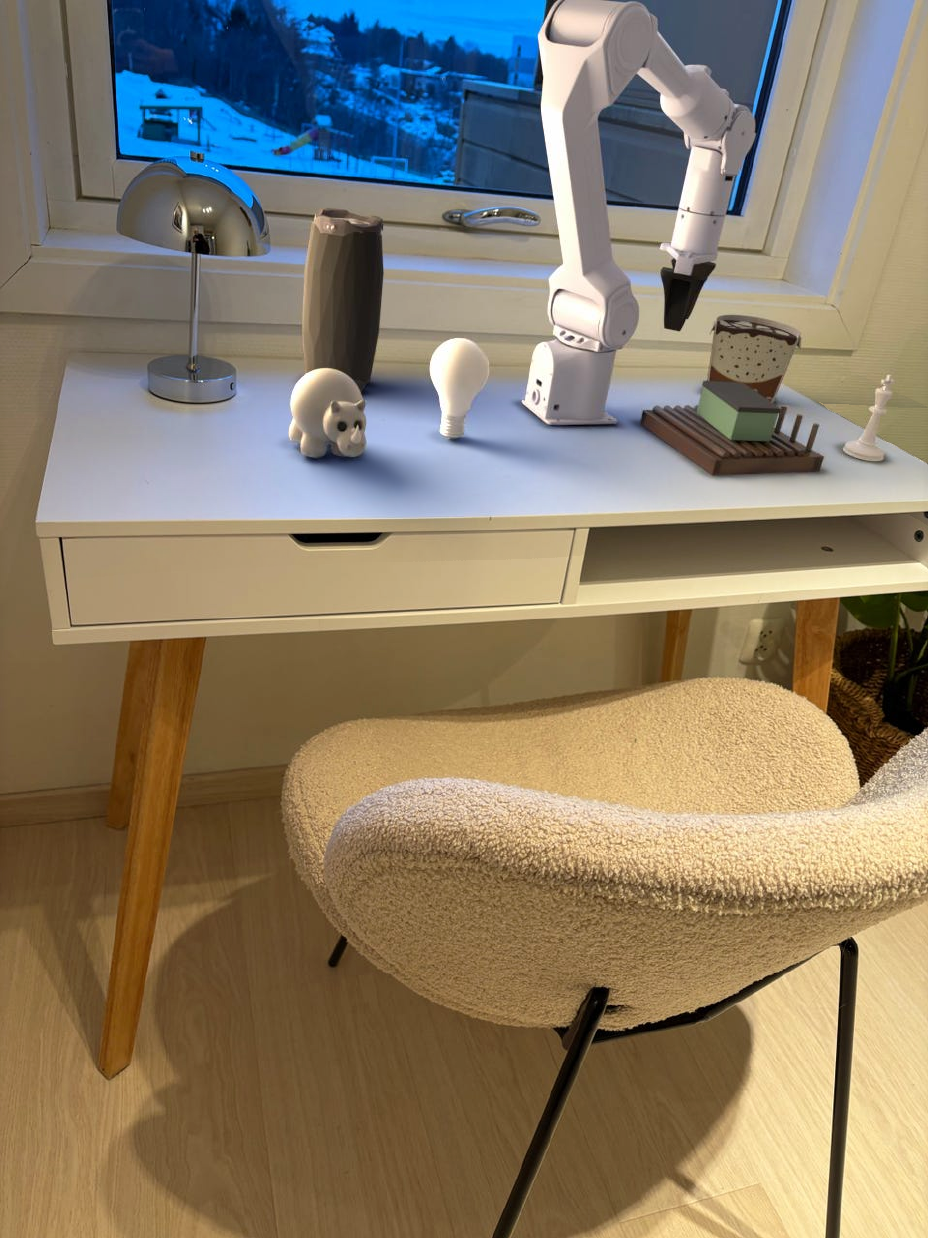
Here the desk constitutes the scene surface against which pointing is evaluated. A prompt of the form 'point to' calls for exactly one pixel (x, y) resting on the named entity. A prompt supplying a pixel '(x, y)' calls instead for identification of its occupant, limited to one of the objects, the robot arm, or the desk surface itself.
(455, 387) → the lightbulb
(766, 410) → the box
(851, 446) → the chess piece
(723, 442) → the dish rack
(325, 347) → the brown vase
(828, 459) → the desk surface
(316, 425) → the toy rhinoceros
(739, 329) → the food container
